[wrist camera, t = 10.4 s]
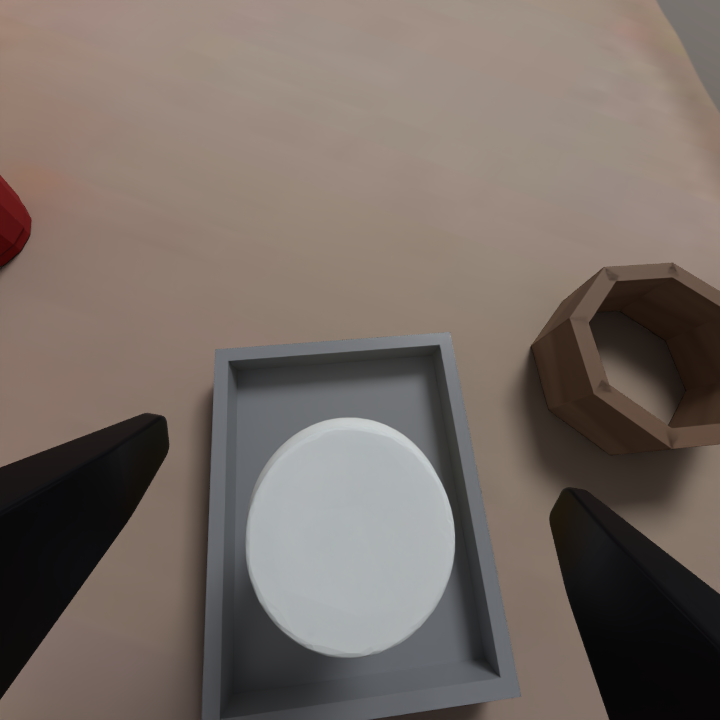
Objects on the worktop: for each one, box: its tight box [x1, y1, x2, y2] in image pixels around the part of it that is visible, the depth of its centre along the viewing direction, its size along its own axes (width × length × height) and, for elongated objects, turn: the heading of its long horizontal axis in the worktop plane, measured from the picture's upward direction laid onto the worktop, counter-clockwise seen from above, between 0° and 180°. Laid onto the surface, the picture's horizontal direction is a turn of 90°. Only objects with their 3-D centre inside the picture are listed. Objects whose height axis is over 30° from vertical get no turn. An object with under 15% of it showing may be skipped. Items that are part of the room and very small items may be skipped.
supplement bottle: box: [245, 418, 455, 658], centre depth 11 cm, size 5×5×10 cm
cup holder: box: [531, 263, 720, 455], centre depth 17 cm, size 9×9×4 cm
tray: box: [201, 332, 521, 720], centre depth 15 cm, size 14×11×2 cm
